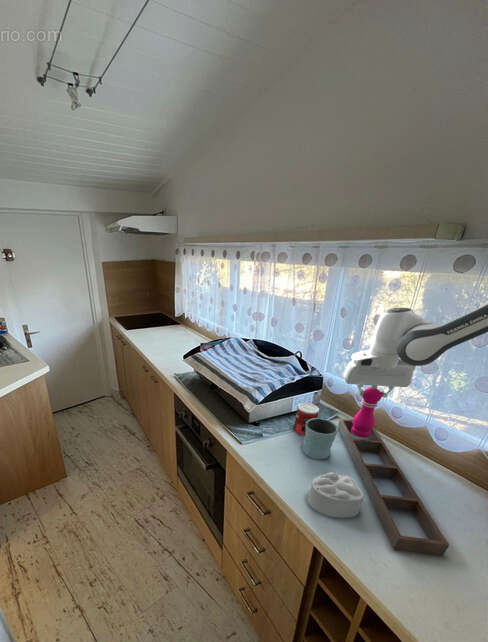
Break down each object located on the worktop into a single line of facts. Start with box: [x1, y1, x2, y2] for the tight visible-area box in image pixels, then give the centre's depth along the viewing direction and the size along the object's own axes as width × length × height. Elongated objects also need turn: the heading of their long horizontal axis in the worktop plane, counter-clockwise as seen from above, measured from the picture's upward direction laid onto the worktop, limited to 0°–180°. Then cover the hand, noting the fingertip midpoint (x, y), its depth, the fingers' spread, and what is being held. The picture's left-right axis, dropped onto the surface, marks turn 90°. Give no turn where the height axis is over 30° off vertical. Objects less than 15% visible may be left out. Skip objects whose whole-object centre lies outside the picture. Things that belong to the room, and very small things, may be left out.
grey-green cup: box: [302, 417, 339, 460], centre depth 107 cm, size 10×10×12 cm
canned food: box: [293, 402, 320, 436], centre depth 119 cm, size 8×8×11 cm
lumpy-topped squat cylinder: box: [307, 471, 365, 518], centre depth 87 cm, size 10×13×9 cm
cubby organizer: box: [337, 418, 450, 557], centre depth 97 cm, size 11×55×5 cm, turn 170°
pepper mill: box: [350, 385, 383, 438], centre depth 109 cm, size 7×7×20 cm
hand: (371, 395), depth 107 cm, fingers closed on pepper mill, 6 cm apart
